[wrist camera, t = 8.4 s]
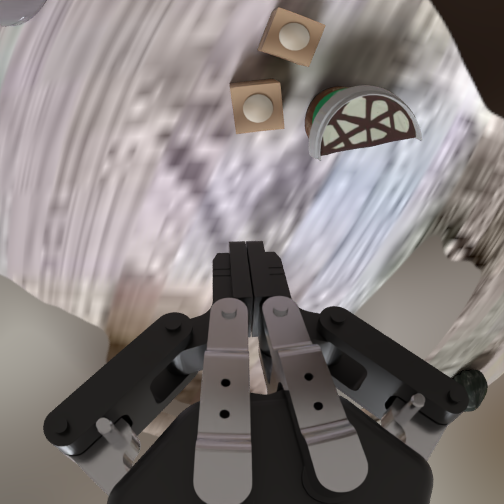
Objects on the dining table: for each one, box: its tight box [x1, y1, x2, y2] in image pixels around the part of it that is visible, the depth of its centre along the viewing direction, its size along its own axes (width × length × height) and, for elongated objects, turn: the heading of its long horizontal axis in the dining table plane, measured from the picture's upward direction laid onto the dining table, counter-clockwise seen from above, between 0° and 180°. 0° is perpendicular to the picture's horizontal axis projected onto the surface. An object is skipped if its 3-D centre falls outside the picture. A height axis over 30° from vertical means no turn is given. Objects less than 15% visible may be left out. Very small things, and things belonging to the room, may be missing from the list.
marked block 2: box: [257, 7, 326, 67], centre depth 28 cm, size 5×5×5 cm
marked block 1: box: [230, 79, 284, 134], centre depth 32 cm, size 5×5×5 cm
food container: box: [305, 85, 422, 161], centre depth 30 cm, size 12×6×10 cm, turn 104°
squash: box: [454, 370, 488, 412], centre depth 77 cm, size 14×15×15 cm
